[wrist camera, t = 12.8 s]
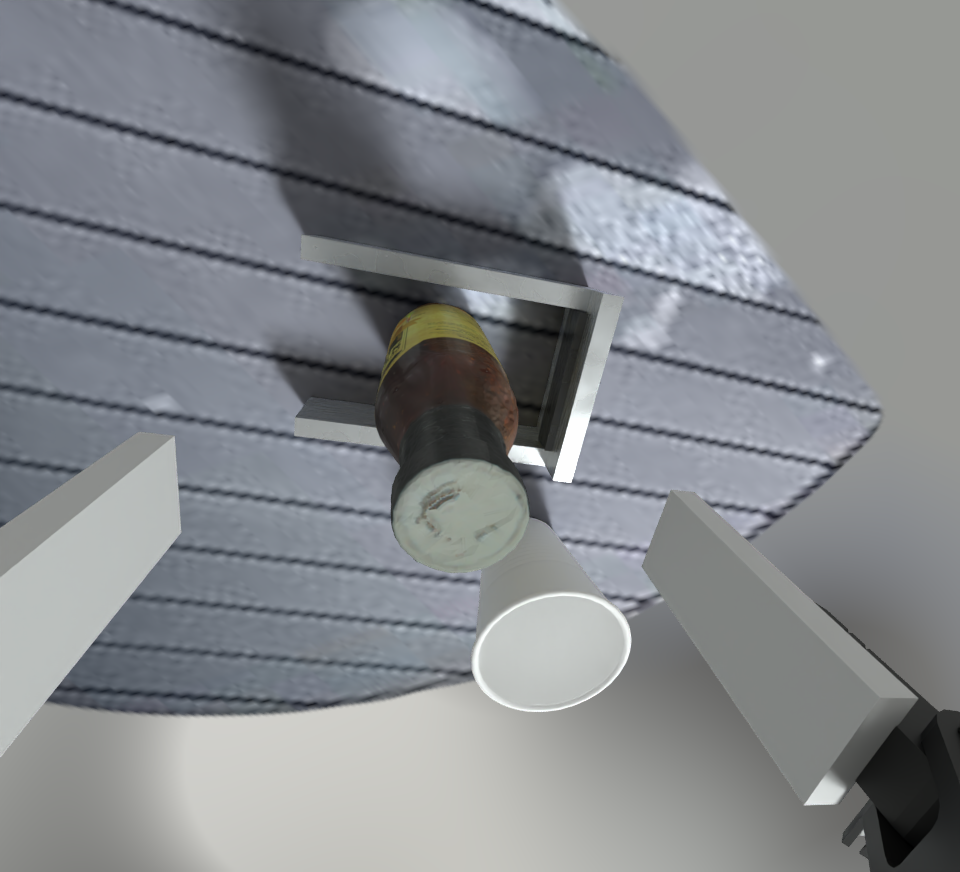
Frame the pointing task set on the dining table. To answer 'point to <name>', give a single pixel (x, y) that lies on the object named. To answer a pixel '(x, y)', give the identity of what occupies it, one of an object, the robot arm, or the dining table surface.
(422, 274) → the frame
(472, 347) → the sauce bottle
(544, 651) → the cup
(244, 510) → the dining table surface
